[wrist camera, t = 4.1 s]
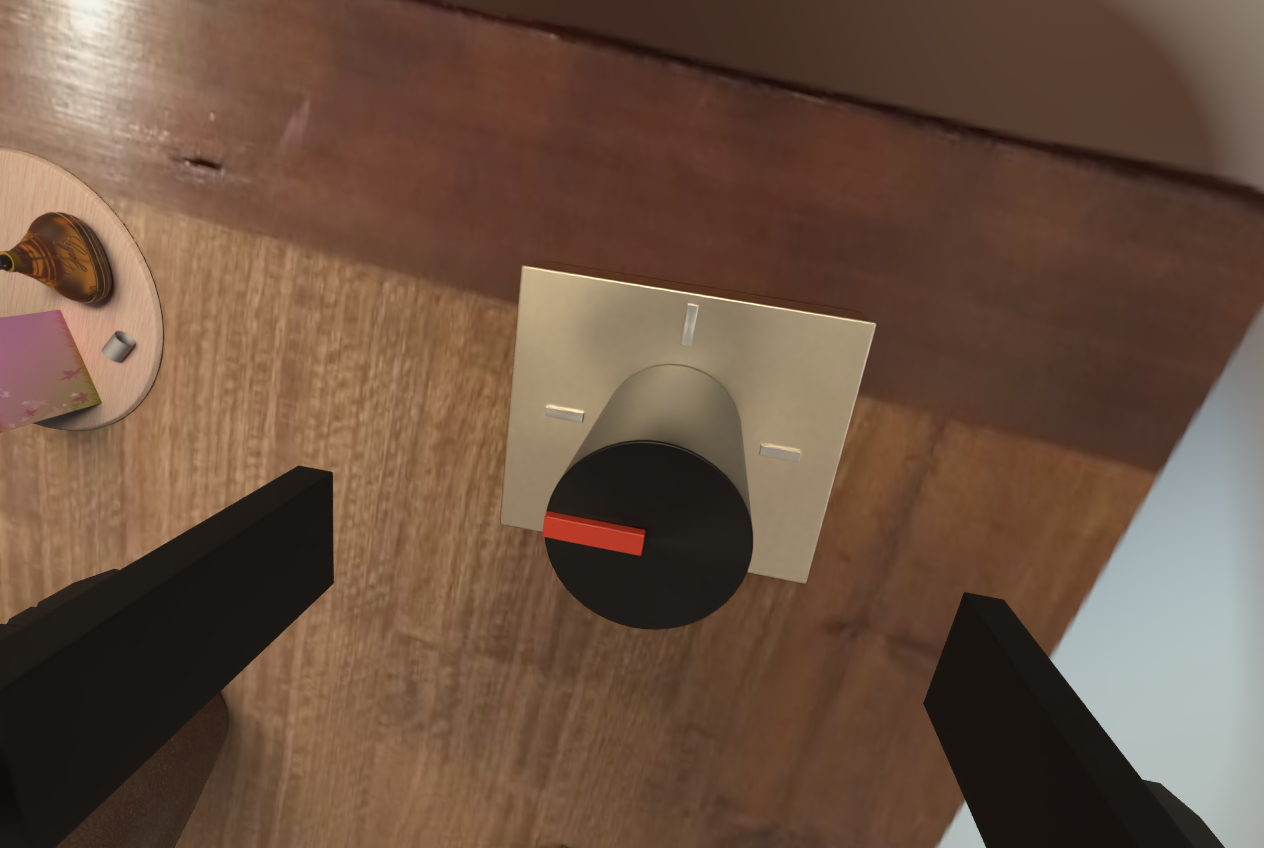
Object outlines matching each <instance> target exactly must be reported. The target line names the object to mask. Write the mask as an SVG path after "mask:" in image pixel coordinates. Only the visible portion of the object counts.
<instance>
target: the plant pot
mask: <svg viewBox="0 0 1264 848" xmlns="http://www.w3.org/2000/svg"><path fill="white" fill-rule="evenodd" d="M227 730H228V716H227V711H226V707H225V705H224V702H223V699H222V697H221V696H220V694H219V693H218V694H217V695H216V696H215V697H214V698H213V699H211V700H210V701H209V702H208V703H207V704H206V705H205V706H204V707H203V708H202V709H201V710H200V711H199V712H198V713H197V714H196V715H195V716H194V717H193V718H192V719H190V720H189V721H188V722H187V723H186V724H185V725H184V726H183V727H182V728H181V729H180V730H179V731H178V732H177V733H176V734H175V735H174V736H173V737H172V738H170V739H169V740H168V741H167V742H166V743H165V744H164V745H163V746H162V747H161V748H160V749H159V750H158V751H157V752H156V753H155V754H154V755H153V756H152V757H150V758H149V759H148V760H147V761H146V762H145V763H144V764H143V765H142V766H141V767H140V768H139V769H138V770H137V771H136V772H135V773H134V774H133V775H132V776H130V777H129V778H128V779H127V780H126V781H125V782H124V783H123V784H122V785H121V786H120V787H119V788H118V789H117V790H116V791H115V792H114V793H113V794H112V795H110V796H109V797H108V798H107V799H106V800H105V801H104V802H103V803H102V804H101V805H100V806H99V807H98V808H97V809H96V810H95V811H94V812H93V813H92V814H90V815H89V816H88V817H87V818H86V819H85V820H84V821H83V822H82V823H81V824H80V825H79V826H78V827H77V828H76V829H75V830H74V831H73V832H72V833H70V834H69V835H68V836H67V837H66V838H65V839H64V840H63V841H62V842H61V843H60V844H59V845H58V846H57V847H56V848H174V847H175V845H176V843H177V842H178V840H179V838H180V836H181V834H182V832H183V830H184V828H185V826H186V824H187V822H188V820H189V818H190V816H191V814H192V812H193V810H194V808H195V805H196V803H197V801H198V799H199V797H200V795H201V793H202V790H203V788H204V786H205V784H206V782H207V780H208V777H209V775H210V773H211V770H212V768H213V766H214V763H215V761H216V759H217V756H218V754H219V752H220V749H221V747H222V744H223V742H224V740H225V737H226V734H227Z"/></svg>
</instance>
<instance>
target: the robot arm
mask: <svg viewBox="0 0 1264 848" xmlns="http://www.w3.org/2000/svg"><path fill="white" fill-rule="evenodd" d="M333 584H334V563H333V472H330V471H325V470H319V469H314V468H309V467H303V466H297V467H295V468H294V469H292V470H290V471H288V472H287V473H285V474H283V475H282V476H280V477H278V478H276V479H275V480H273V481H271V482H270V483H268V484H266V485H265V486H263V487H261V488H259V489H258V490H256V491H254V492H253V493H251V494H249V495H247V496H246V497H244V498H242V499H241V500H239V501H237V502H236V503H234V504H232V505H230V506H229V507H227V508H225V509H224V510H222V511H220V512H218V513H217V514H215V515H213V516H212V517H210V518H208V519H207V520H205V521H203V522H201V523H200V524H198V525H196V526H195V527H193V528H191V529H189V530H188V531H186V532H184V533H183V534H181V535H179V536H177V537H176V538H174V539H172V540H171V541H169V542H167V543H166V544H164V545H162V546H160V547H159V548H157V549H155V550H154V551H152V552H150V553H148V554H147V555H145V556H143V557H142V558H140V559H138V560H137V561H135V562H133V563H131V564H130V565H128V566H126V567H125V568H123V569H121V570H117V569H112V570H109V571H107V572H104V573H101V574H98V575H95V576H92V577H89V578H87V579H84V580H81V581H78V582H75V583H73V584H71V585H69V586H67V587H65V588H64V589H62V590H60V591H58V592H57V593H55V594H53V595H51V596H49V597H48V598H46V599H44V600H42V601H41V602H39V603H38V605H37V607H36V608H35V607H30V608H28V609H26V610H25V611H23V612H21V613H19V614H18V615H16V616H14V617H12V618H10V619H9V621H8V623H7V624H6V625H5V624H0V848H56V847H57V846H58V845H59V844H60V843H61V842H62V841H63V840H64V839H65V838H66V837H67V836H68V835H69V834H70V833H72V832H73V831H74V830H75V829H76V828H77V827H78V826H79V825H80V824H81V823H82V822H83V821H84V820H85V819H86V818H87V817H88V816H89V815H90V814H92V813H93V812H94V811H95V810H96V809H97V808H98V807H99V806H100V805H101V804H102V803H103V802H104V801H105V800H106V799H107V798H108V797H109V796H110V795H112V794H113V793H114V792H115V791H116V790H117V789H118V788H119V787H120V786H121V785H122V784H123V783H124V782H125V781H126V780H127V779H128V778H129V777H130V776H132V775H133V774H134V773H135V772H136V771H137V770H138V769H139V768H140V767H141V766H142V765H143V764H144V763H145V762H146V761H147V760H148V759H149V758H150V757H152V756H153V755H154V754H155V753H156V752H157V751H158V750H159V749H160V748H161V747H162V746H163V745H164V744H165V743H166V742H167V741H168V740H169V739H170V738H172V737H173V736H174V735H175V734H176V733H177V732H178V731H179V730H180V729H181V728H182V727H183V726H184V725H185V724H186V723H187V722H188V721H189V720H190V719H192V718H193V717H194V716H195V715H196V714H197V713H198V712H199V711H200V710H201V709H202V708H203V707H204V706H205V705H206V704H207V703H208V702H209V701H210V700H211V699H213V698H214V697H215V696H216V695H217V694H218V693H219V692H220V691H221V690H222V689H223V688H224V687H225V686H226V685H227V684H228V683H229V682H230V681H231V680H233V679H234V678H235V677H236V676H237V675H238V674H239V673H240V672H241V671H242V670H243V669H244V668H245V667H246V666H247V665H248V664H249V663H250V662H251V661H253V660H254V659H255V658H256V657H257V656H258V655H259V654H260V653H261V652H262V651H263V650H264V649H265V648H266V647H267V646H268V645H269V644H270V643H271V642H273V641H274V640H275V639H276V638H277V637H278V636H279V635H280V634H281V633H282V632H283V631H284V630H285V629H286V628H287V627H288V626H289V625H290V624H291V623H293V622H294V621H295V620H296V619H297V618H298V617H299V616H300V615H301V614H302V613H303V612H304V611H305V610H306V609H307V608H308V607H309V606H310V605H311V604H313V603H314V602H315V601H316V600H317V599H318V598H319V597H320V596H321V595H322V594H323V593H324V592H325V591H326V590H327V589H328V588H329V587H330V586H331V585H333ZM923 704H924V706H925V708H926V711H927V713H928V715H929V718H930V720H931V722H932V724H933V727H934V729H935V731H936V734H937V736H938V738H939V740H940V743H941V745H942V747H943V750H944V752H945V754H946V757H947V759H948V761H949V763H950V766H951V768H952V770H953V773H954V775H955V777H956V779H957V782H958V784H959V786H960V789H961V791H962V793H963V796H964V798H965V800H966V802H967V805H968V807H969V809H970V812H971V813H972V816H973V818H974V821H975V823H976V825H977V828H978V830H979V832H980V834H981V837H982V839H983V841H984V844H985V846H986V848H1225V847H1224V846H1223V845H1222V843H1221V842H1220V841H1219V840H1218V839H1217V837H1216V836H1215V835H1214V834H1213V833H1212V831H1211V830H1210V829H1209V828H1208V826H1207V825H1206V824H1205V823H1204V821H1203V820H1202V819H1201V818H1200V817H1199V816H1198V815H1197V814H1196V813H1194V812H1193V811H1192V810H1191V809H1190V808H1189V807H1187V806H1186V805H1185V804H1184V803H1183V802H1181V801H1180V800H1179V799H1178V798H1177V797H1176V796H1174V795H1173V794H1172V793H1171V792H1170V791H1169V790H1167V789H1166V788H1165V787H1164V786H1163V785H1162V784H1160V783H1156V782H1151V781H1147V780H1142V779H1141V777H1140V776H1139V775H1138V773H1137V772H1136V771H1135V769H1134V768H1133V767H1132V766H1131V764H1130V763H1129V762H1128V760H1127V759H1126V758H1125V757H1124V755H1123V754H1122V753H1121V751H1120V750H1119V749H1118V747H1117V746H1116V745H1115V743H1114V742H1113V741H1112V740H1111V738H1110V737H1109V736H1108V734H1107V733H1106V732H1105V731H1104V729H1103V728H1102V727H1101V725H1100V724H1099V723H1098V721H1097V720H1096V719H1095V718H1094V717H1093V715H1092V714H1091V712H1090V711H1089V710H1088V709H1087V707H1086V706H1085V704H1084V703H1083V702H1082V701H1081V700H1080V698H1079V697H1078V696H1077V694H1076V693H1075V691H1074V690H1073V689H1072V688H1071V686H1070V685H1069V684H1068V682H1067V681H1066V680H1065V679H1064V677H1063V676H1062V675H1061V673H1060V672H1059V671H1058V669H1057V668H1056V667H1055V666H1054V664H1053V663H1052V662H1051V660H1050V659H1049V658H1048V656H1047V655H1046V654H1045V652H1044V651H1043V650H1042V649H1041V647H1040V646H1039V645H1038V643H1037V642H1036V641H1035V639H1034V638H1033V637H1032V636H1031V634H1030V633H1029V632H1028V630H1027V629H1026V628H1025V626H1024V625H1023V624H1022V623H1021V621H1020V620H1019V619H1018V617H1017V616H1016V615H1015V614H1014V612H1013V611H1012V610H1011V608H1010V607H1009V606H1008V604H1007V603H1006V602H1005V601H1004V600H1003V599H997V598H992V597H987V596H982V595H976V594H971V593H966V592H964V594H963V597H962V599H961V602H960V605H959V607H958V610H957V613H956V616H955V618H954V621H953V624H952V627H951V629H950V632H949V635H948V637H947V640H946V643H945V646H944V648H943V651H942V654H941V657H940V659H939V662H938V665H937V667H936V670H935V673H934V676H933V678H932V681H931V684H930V687H929V689H928V692H927V695H926V697H925V700H924V703H923Z"/></svg>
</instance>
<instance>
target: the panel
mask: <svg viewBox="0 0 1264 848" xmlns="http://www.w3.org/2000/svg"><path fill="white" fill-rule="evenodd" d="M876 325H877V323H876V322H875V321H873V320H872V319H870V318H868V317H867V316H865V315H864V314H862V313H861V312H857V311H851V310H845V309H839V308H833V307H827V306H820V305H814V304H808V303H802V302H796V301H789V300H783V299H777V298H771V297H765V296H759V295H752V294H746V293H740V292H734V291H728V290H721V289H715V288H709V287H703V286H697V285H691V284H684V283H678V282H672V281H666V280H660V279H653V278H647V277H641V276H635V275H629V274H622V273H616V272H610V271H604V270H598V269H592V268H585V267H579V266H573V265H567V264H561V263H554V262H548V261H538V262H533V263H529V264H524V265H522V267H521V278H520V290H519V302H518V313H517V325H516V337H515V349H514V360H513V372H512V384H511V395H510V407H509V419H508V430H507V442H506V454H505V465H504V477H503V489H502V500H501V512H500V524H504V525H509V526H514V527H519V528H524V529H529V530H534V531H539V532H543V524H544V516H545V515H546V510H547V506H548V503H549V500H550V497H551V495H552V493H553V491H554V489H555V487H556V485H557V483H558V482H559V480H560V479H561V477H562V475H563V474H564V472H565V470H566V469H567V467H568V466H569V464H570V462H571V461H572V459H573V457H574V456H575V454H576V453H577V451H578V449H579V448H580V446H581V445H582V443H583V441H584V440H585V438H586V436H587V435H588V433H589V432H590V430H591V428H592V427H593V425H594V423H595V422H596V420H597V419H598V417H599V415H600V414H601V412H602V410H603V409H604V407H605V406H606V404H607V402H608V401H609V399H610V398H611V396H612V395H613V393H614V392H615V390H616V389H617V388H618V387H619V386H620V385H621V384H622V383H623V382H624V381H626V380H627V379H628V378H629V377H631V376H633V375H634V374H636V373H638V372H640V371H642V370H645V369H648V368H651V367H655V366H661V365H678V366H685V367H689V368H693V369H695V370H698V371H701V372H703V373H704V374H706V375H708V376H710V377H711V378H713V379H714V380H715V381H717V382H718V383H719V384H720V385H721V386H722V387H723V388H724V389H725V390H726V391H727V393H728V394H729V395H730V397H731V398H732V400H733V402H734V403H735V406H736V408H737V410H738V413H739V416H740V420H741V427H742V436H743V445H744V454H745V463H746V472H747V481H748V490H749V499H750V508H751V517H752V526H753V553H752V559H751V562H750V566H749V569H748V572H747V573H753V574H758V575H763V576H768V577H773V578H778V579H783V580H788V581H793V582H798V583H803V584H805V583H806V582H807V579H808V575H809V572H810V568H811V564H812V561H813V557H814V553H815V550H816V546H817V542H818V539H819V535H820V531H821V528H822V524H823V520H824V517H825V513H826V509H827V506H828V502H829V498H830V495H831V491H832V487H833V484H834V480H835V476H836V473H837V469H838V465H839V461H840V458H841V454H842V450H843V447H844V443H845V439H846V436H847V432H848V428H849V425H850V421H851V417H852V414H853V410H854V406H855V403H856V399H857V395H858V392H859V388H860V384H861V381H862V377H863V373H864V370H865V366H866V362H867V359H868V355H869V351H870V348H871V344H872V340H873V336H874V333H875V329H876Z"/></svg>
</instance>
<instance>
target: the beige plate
mask: <svg viewBox="0 0 1264 848" xmlns="http://www.w3.org/2000/svg"><path fill="white" fill-rule="evenodd" d="M162 344H163V326H162V316H161V310H160V304H159V299H158V296H157V292H156V288H155V285H154V282H153V279H152V277H151V274H150V271H149V269H148V267H147V264H146V262H145V260H144V258H143V256H142V254H141V252H140V250H139V248H138V247H137V245H136V243H135V241H134V240H133V238H132V237H131V235H130V234H129V232H128V230H127V229H126V228H125V226H124V225H123V224H122V222H121V221H120V220H119V218H118V217H117V216H116V215H115V213H114V212H113V211H112V210H111V209H110V208H109V206H108V205H107V204H106V203H105V202H104V201H103V200H102V199H101V198H100V197H99V196H98V195H97V194H96V193H95V192H94V191H92V190H91V189H90V188H89V187H88V186H86V185H85V184H84V183H83V182H82V181H80V180H79V179H77V178H76V177H75V176H73V175H72V174H71V173H69V172H67V171H66V170H64V169H62V168H61V167H59V166H58V165H56V164H54V163H52V162H50V161H48V160H46V159H43V158H41V157H38V156H36V155H33V154H30V153H27V152H23V151H20V150H16V149H10V148H4V147H0V432H4V431H7V430H11V429H14V428H17V427H21V426H24V425H28V424H31V423H34V424H37V425H41V426H44V427H49V428H54V429H59V430H69V431H84V430H92V429H97V428H101V427H105V426H107V425H110V424H113V423H115V422H117V421H119V420H120V419H122V418H124V417H125V416H127V415H128V414H129V413H131V412H132V411H133V410H134V409H135V408H136V407H137V406H138V405H139V404H140V403H141V401H142V400H143V399H144V398H145V396H146V395H147V393H148V392H149V390H150V388H151V386H152V384H153V382H154V380H155V378H156V375H157V371H158V368H159V365H160V360H161V355H162Z"/></svg>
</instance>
